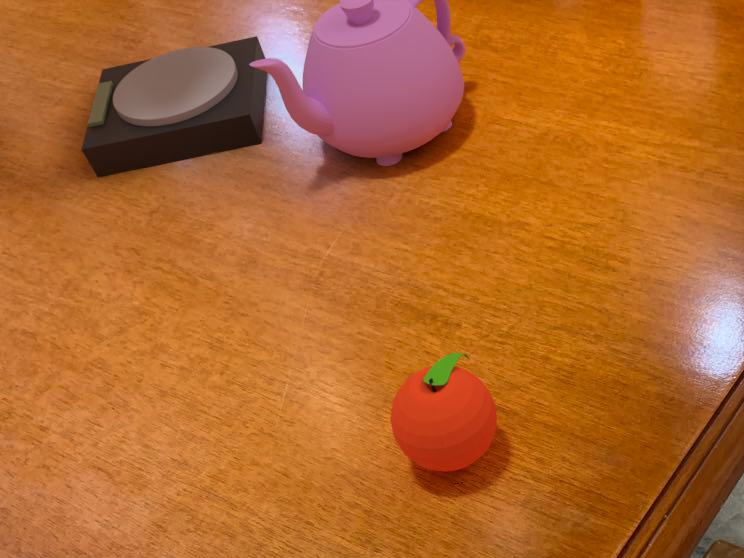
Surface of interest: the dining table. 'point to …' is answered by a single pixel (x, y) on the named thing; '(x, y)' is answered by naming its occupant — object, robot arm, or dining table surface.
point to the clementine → (444, 416)
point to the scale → (176, 107)
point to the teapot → (375, 78)
